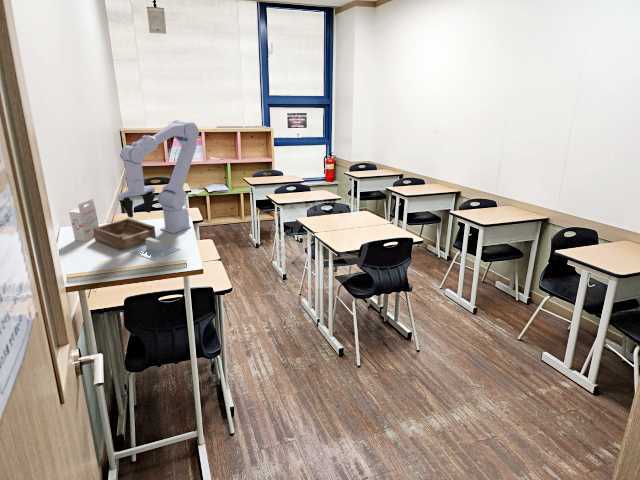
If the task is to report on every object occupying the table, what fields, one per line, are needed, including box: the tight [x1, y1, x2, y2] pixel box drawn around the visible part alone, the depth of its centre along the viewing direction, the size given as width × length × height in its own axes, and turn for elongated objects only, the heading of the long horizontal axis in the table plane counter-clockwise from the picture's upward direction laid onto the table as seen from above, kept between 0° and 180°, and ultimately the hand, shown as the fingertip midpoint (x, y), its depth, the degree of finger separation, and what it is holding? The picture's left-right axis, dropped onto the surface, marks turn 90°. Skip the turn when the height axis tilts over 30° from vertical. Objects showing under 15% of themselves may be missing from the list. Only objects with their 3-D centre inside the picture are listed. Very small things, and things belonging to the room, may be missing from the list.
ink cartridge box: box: [68, 198, 100, 242], centre depth 166 cm, size 9×5×15 cm, turn 168°
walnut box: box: [93, 217, 157, 252], centre depth 166 cm, size 15×16×5 cm
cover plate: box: [128, 237, 181, 261], centre depth 158 cm, size 12×14×5 cm
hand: (139, 214), depth 164 cm, fingers open, 7 cm apart
